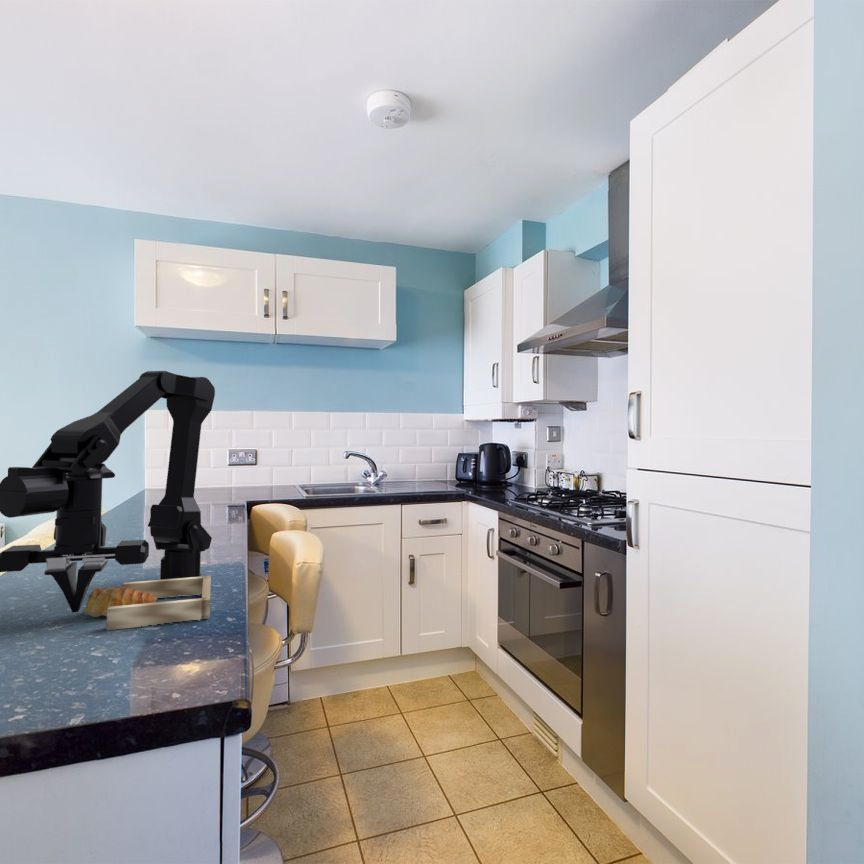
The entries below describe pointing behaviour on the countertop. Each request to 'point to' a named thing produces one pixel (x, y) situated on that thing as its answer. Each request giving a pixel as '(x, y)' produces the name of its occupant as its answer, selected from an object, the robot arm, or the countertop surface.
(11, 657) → the countertop surface
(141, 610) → the beige piece
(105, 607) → the pastry
